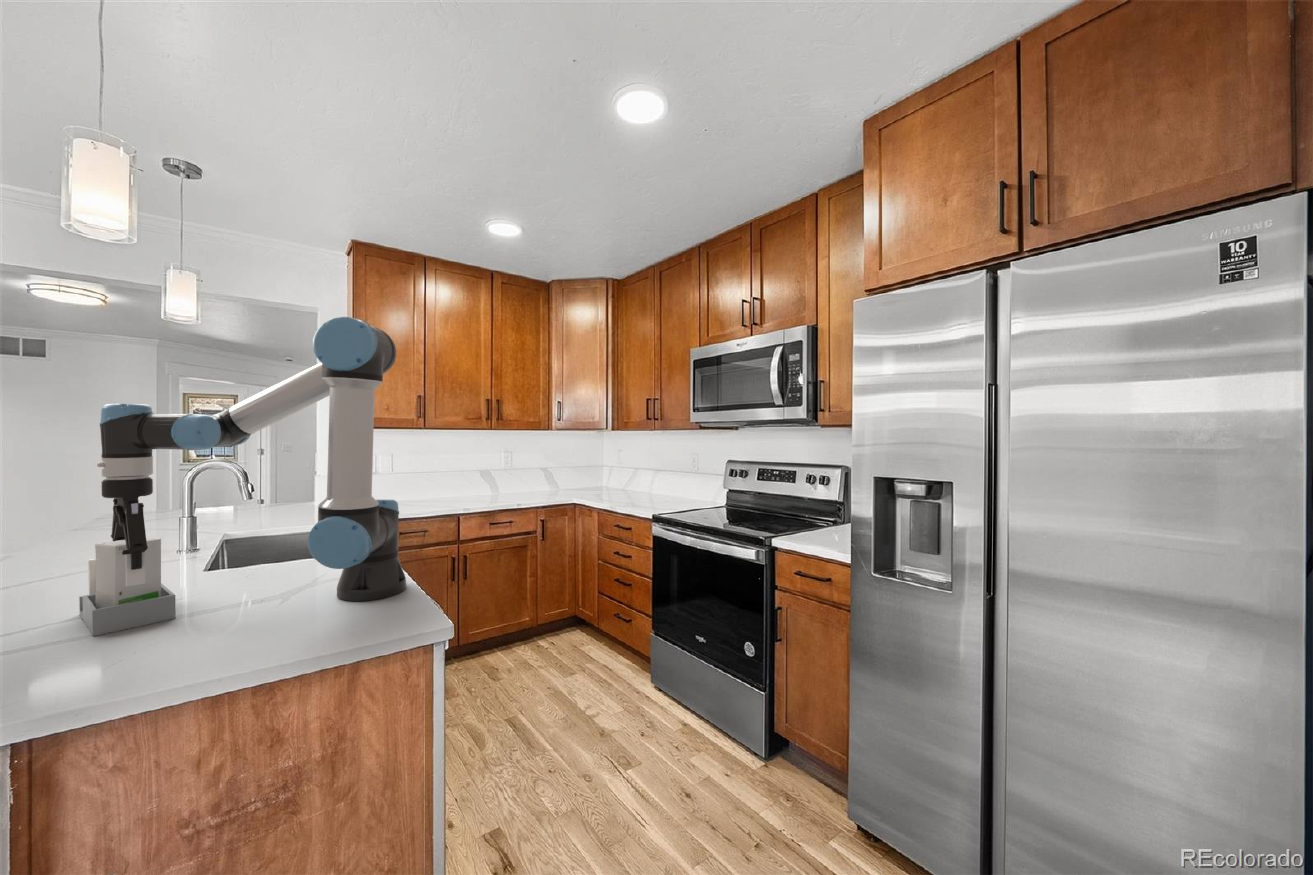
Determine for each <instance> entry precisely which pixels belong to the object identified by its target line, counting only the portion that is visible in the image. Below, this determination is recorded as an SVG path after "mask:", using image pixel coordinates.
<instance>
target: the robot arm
mask: <svg viewBox="0 0 1313 875" xmlns="http://www.w3.org/2000/svg"><path fill="white" fill-rule="evenodd" d="M312 349H313V353H314V354H315V357H316V359H318V361H319V363H317V364H316V365H313V366H312V367H310V368H307V369H305V370H303V371H301V372H299V373H297V374H295V375H293V376H291V377H289V378H287V379H284V380H283V381H281V382H279V383H278V382H277V384H274V385H272V386H270V387H268V388H266V389H264V390H263V391H260V392H258V393H256V394H254V395H252V396H250V397H248V398H246V399H244V400H242V401H240V402H238V403H236V404H234V405H232V406H230V407H228V408H226V409H223V410H221V411H219V412H217V413H215V414H201V413H167V414H166V413H154V412H153V408H152V406H151V405H150V404H145V403H144V404H143V403H142V404H141V403H139V404H138V403H106V404H105V405H103V406H102V407H101V415H100V422H99V427H100V428H99V429H100V442H101V443H100V444H101V461H102V462H97V465H96V466H97V467H98V468H101V476H102V477H103V478H104V479H103V480H102V481H101V496H102V497H103V498H105V499H113V500H112V502H113V505H112V506H113V507H112V510H113V513H112V522H111V523H112V525H111V535H110V538H111V540H112V541H118V540H125V541H126V547H127V550H123V552H122V555H125V558H126V586H132V585H138V584H144V583H145V550H147V548H148V546H147V542H146V538H147V534H146V524H145V517H144V507H145V506H144V503H143V502H139V497H147V496H150V495H152V494H153V493H154V491H153V490H154V487H153V486H154V484H153V483H154V482H153V480H154V479H153V478H152V477H150V476H152V475H153V473H154V466H153V465H154V456H153V450H185V451H186V450H187V451H200V450H210V449H212V448H221V447H223V448H230V447H231V448H232V447H235V446H238V445H242V444H244V443H245V442H247V441H248V440H249V439H250V437H251V435H253V434H255V433H257V432H258V431H261V430H263V429H265V428H267V427H268V426H271V425H273V424H275V423H277V422H278V421H279V422H280V421H281V420H283V419H285V418H287V417H289V416H291V415H293V414H295V413H297V412H299V411H302V410H303V409H305V408H307V407H309V406H312V405H313V404H315V403H317V402H319V401H321V400H323V399H325V398H327V397H329V406H328V408H329V409H328V411H329V412H328V413H329V414H328V438H327V440H328V441H327V442H328V445H327V481H326V497H325V498H324V499H323V500H322V501H321V502H320V503H319V504H318V506H317V508H318V511H317V523H315V525H313V527H312V528H311V530H310V531H309V533H308V537H307V547H308V550H309V553H310V556H312V559H314V560H316V562H318V563H319V564H320V565H322V566H323V567H326V568H329V569H334V570H342V571H341V573H340V574H341V575H340V577H339V580H338V582H337V585H336V597H337V599H340V600H341V601H349V602H362V601H363V602H364V601H375V600H380V599H384V598H388V597H392V596H395V595H398V594H400V593H402V592H403V591H405V590H406V588H407V579H406V578H407V577H406V576H405V575H406V574H405V572H404V570H403V567H402V564H401V562H400V558H399V516H400V511H399V503H398V502H397V500H395V499H375V498H374V496H373V495H372V494H373V492H372V491H373V489H372V488H373V460H374V458H373V457H374V456H373V455H374V428H375V426H374V425H375V423H374V422H375V421H374V420H375V391H376V389H377V388H378V387H380V386H381V385H382V384H383V380H384V378H383V377H384V376H383V375H384V374H386V373H387V372H388V371H390V369H392V367H393V366H394V365H395V362H396V359H397V347H396V345H395V341H394V340H393V339H392V337H391V336H390V335H388V334H387V333H386V332H385V331H384V330H382V329H380V328H378V327H375V326H373V325H371V324H369V323H368V322H366V321H365V320H362V319H359V318H355V317H350V316H337V317H334V318H333V317H332V318H330V319H328V320H326V321H325V322H323V323H322V324H321V325H320V326H319V327H318V328H317V330H316V331H315V333H314V335H313V339H312Z"/></svg>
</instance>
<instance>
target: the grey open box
mask: <svg viewBox="0 0 1313 875" xmlns="http://www.w3.org/2000/svg"><path fill="white" fill-rule="evenodd" d="M87 562H88V563H87V565H88V566H87V570H88V572H87V574H88V578H87V579H88V594H85V595H84V594H83V595H79V596H78V598H79V599H78V600H79V602H78V603H79V604H78V606H79V616H80V618H81V620H82V619H83V620H82V621H83V623H84V624H85V626H86V627H88V628H87V629H88V631H89V632H91V633H90V634H91V636H92V637H96V636H99V635H104V634H110V633H114V632H119V631H124V630H126V629H127V628H128V629H133V628H137V627H141V626H142V627H143V626H146V625H150V624H155V623H160V622H164V621H169V620H172V619H173V620H174V619H176V594H175V593H174V592H172V591H171V590H170V589H169V588H167V587H166V586H165V585H164V584H163V583H162V582H161V597H158V598H153V599H147V600H142V601H137V602H132V603H126V604H121V605H116V606H111V607H105V608H100V609H96V608H95V604H96V558H89V559H88V560H87ZM132 627H133V628H132ZM128 629H127V630H128ZM109 632H110V633H109Z"/></svg>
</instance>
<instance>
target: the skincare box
mask: <svg viewBox="0 0 1313 875" xmlns="http://www.w3.org/2000/svg"><path fill="white" fill-rule="evenodd" d="M146 542H147V546H148V548H147V550H145V583H144V584H138V585H132V586H126V558H125V555H122V552H123V550H127V547H126V541H125V540H118V541H113V540H112V541H106V542H99V543H95V544H94V548H95V559H96V604H95V608H96V609H100V608H105V607H111V606H116V605H121V604H126V603H132V602H137V601H142V600H147V599H153V598H158V597H161V583H162V538H155V537H146Z"/></svg>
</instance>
